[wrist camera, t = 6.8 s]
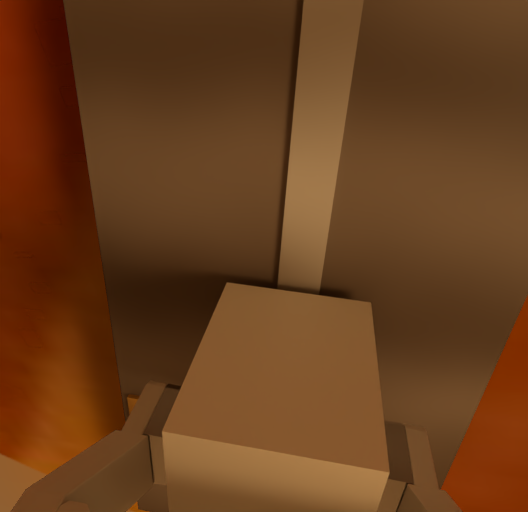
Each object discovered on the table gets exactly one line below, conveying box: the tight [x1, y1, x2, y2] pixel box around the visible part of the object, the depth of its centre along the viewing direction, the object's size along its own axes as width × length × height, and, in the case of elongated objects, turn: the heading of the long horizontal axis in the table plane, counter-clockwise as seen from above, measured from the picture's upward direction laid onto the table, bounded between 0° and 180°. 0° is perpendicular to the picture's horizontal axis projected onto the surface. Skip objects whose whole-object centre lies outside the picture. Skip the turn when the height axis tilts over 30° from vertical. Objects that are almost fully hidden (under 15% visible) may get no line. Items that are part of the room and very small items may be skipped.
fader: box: [162, 282, 390, 512], centre depth 11 cm, size 5×4×5 cm
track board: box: [63, 0, 528, 512], centre depth 13 cm, size 26×12×3 cm, turn 176°
